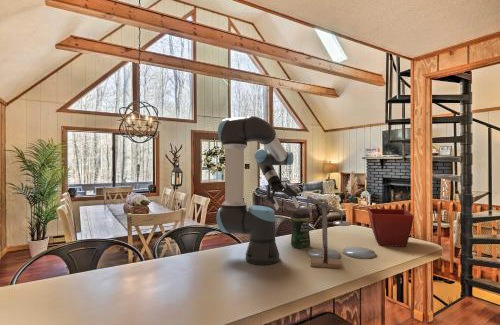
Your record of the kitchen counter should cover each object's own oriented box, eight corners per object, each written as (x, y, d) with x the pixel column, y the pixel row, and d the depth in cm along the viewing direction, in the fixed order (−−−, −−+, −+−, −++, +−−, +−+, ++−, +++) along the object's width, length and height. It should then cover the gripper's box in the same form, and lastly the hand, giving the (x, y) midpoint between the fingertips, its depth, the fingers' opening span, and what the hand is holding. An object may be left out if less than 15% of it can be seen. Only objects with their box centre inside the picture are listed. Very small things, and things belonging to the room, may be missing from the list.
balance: (300, 266, 116) (299, 196, 117) (300, 260, 123) (299, 195, 124) (352, 269, 112) (351, 197, 113) (350, 263, 119) (348, 195, 120)
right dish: (344, 257, 127) (344, 254, 127) (341, 248, 140) (341, 246, 140) (378, 259, 124) (378, 256, 124) (371, 250, 137) (371, 247, 137)
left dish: (308, 259, 125) (308, 256, 125) (308, 250, 139) (308, 247, 139) (341, 260, 122) (341, 258, 122) (338, 251, 136) (338, 249, 136)
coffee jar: (297, 249, 140) (296, 212, 140) (288, 245, 147) (288, 209, 148) (313, 247, 144) (312, 210, 144) (304, 243, 151) (303, 208, 151)
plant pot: (372, 246, 143) (371, 213, 143) (368, 237, 161) (367, 208, 162) (414, 249, 138) (414, 215, 138) (405, 240, 156) (404, 209, 156)
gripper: (287, 182, 177) (303, 209, 163) (252, 184, 165) (266, 213, 152) (292, 174, 172) (309, 201, 159) (257, 175, 161) (271, 204, 147)
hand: (288, 207), depth 155 cm, fingers open, 13 cm apart
